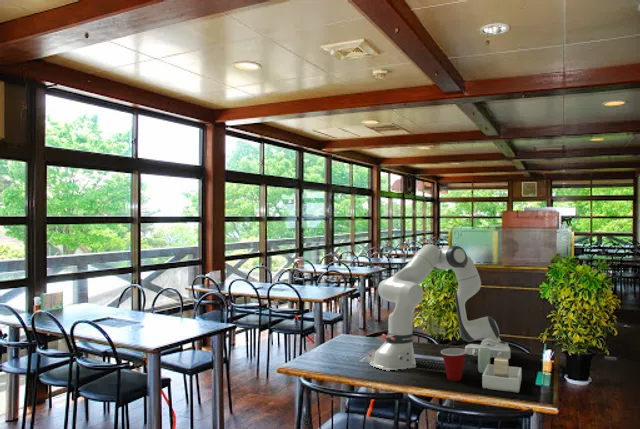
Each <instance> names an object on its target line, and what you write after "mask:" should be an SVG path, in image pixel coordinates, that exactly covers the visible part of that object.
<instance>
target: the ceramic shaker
mask: <svg viewBox="0 0 640 429" xmlns="http://www.w3.org/2000/svg"><path fill="white" fill-rule="evenodd" d="M487 364H491V358H490V349H489V348H478V355H477V369H478V370H477V371H478V372H479V373H481V374H483V373H484V371H485V368H486V366H487Z"/></svg>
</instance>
